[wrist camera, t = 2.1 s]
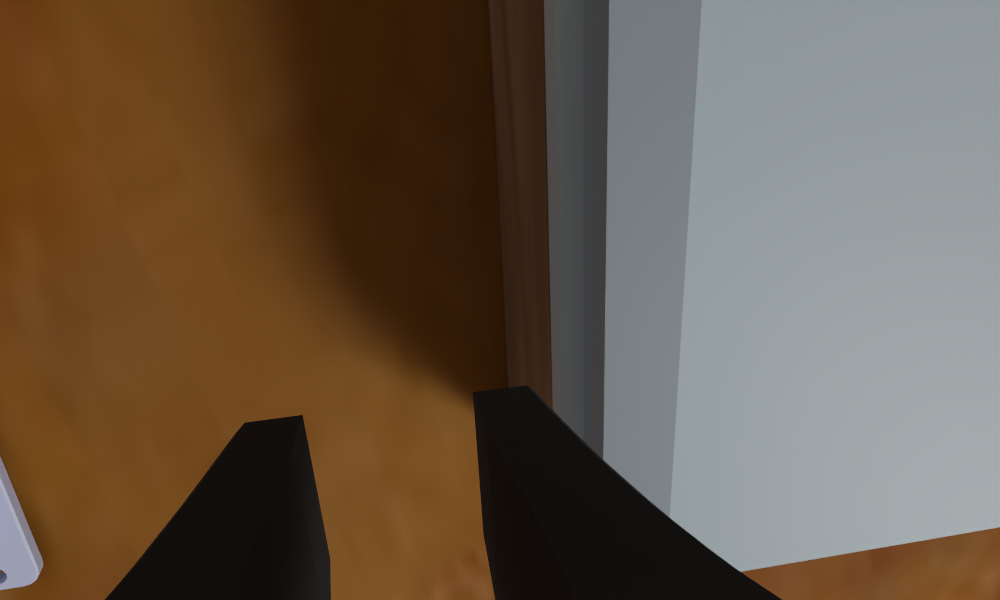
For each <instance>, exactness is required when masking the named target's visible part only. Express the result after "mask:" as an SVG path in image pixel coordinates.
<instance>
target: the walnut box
mask: <svg viewBox="0 0 1000 600" xmlns="http://www.w3.org/2000/svg"><path fill="white" fill-rule="evenodd" d="M489 19H490V39H491V59H492V78H493V98H494V117H495V137H496V157H497V176H498V196H499V215H500V235H501V254H502V274H503V294H504V313H505V333H506V352H507V372H508V388H510V387H517V386H525V385H527V386H529V387H530V388H531V389H532V390H534V391H535V392H536V393H537V394H538V395H539V396H540V397H541V398H542V399H543V400H544V401H545V402H546V403H547V404H548V405H549V407H550V408H551V409H552V410H553V401H552V355H551V309H550V263H549V217H548V171H547V125H546V79H545V33H544V0H489Z"/></svg>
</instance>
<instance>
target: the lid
mask: <svg viewBox="0 0 1000 600" xmlns="http://www.w3.org/2000/svg"><path fill="white" fill-rule="evenodd" d="M544 33H545V79H546V125H547V171H548V217H549V263H550V309H551V355H552V401H553V411H554V412H555V413H556V414H557V415H558V416H559V417H560V418H561V419H562V420H563V421H564V422H565V423H566V424H567V425H568V426H569V427H570V428H571V429H572V430H573V431H574V432H575V433H576V434H577V435H578V436H579V437H580V438H581V439H582V440H583V441H584V442H585V443H586V444H587V445H588V446H589V447H590V448H591V449H592V450H594V451H595V452H596V453H597V454H598V455H599V456H600V457H601V458H602V459H603V460H604V461H605V462H606V463H607V464H608V465H610V466H611V467H612V468H613V469H614V470H615V471H616V472H618V473H619V474H620V475H621V476H622V477H623V478H624V479H625V480H627V481H628V482H629V483H630V484H631V485H632V486H633V487H634V488H636V489H637V490H638V491H639V492H640V493H641V494H642V495H643V496H645V497H646V498H647V499H648V500H649V501H650V502H652V503H653V504H654V505H655V506H656V507H658V508H659V509H660V510H661V511H662V512H664V513H665V514H666V515H667V516H668V517H670V518H671V519H672V520H673V521H674V522H676V523H677V524H678V525H680V526H681V527H682V528H683V529H685V530H686V531H687V532H688V533H690V534H691V535H692V536H694V537H695V538H696V539H697V540H699V541H700V542H701V543H702V544H704V545H705V546H706V547H708V548H709V549H710V550H711V551H713V552H714V553H715V554H717V555H718V556H719V557H721V558H722V559H724V560H725V561H726V562H728V563H729V564H730V565H732V566H733V567H734V568H736V569H737V570H738V571H740V572H742V571H747V570H753V569H759V568H765V567H771V566H776V565H782V564H788V563H794V562H800V561H806V560H811V559H817V558H823V557H829V556H835V555H841V554H846V553H852V552H858V551H864V550H870V549H875V548H881V547H887V546H893V545H899V544H905V543H910V542H916V541H922V540H928V539H934V538H940V537H945V536H951V535H957V534H963V533H969V532H974V531H980V530H986V529H992V528H998V527H1000V0H544Z"/></svg>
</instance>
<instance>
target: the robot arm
mask: <svg viewBox="0 0 1000 600" xmlns="http://www.w3.org/2000/svg"><path fill="white" fill-rule="evenodd" d="M473 398H474V412H475V425H476V438H477V452H478V465H479V479H480V492H481V505H482V519H483V532H484V539H485V544H486V550H487V556H488V561H489V567H490V572H491V578H492V583H493V589H494V594H495V599H496V600H782V599H780V598H779V597H777V596H776V595H774V594H773V593H771V592H770V591H768V590H767V589H765V588H764V587H762V586H761V585H759V584H758V583H756V582H755V581H753V580H751V579H750V578H748V577H747V576H745V575H744V574H743V573H741V572H740V571H738V570H737V569H736V568H734V567H733V566H732V565H730V564H729V563H728V562H726V561H725V560H724V559H722V558H721V557H719V556H718V555H717V554H715V553H714V552H713V551H711V550H710V549H709V548H708V547H706V546H705V545H704V544H702V543H701V542H700V541H699V540H697V539H696V538H695V537H694V536H692V535H691V534H690V533H688V532H687V531H686V530H685V529H683V528H682V527H681V526H680V525H678V524H677V523H676V522H674V521H673V520H672V519H671V518H670V517H668V516H667V515H666V514H665V513H664V512H662V511H661V510H660V509H659V508H658V507H656V506H655V505H654V504H653V503H652V502H650V501H649V500H648V499H647V498H646V497H645V496H643V495H642V494H641V493H640V492H639V491H638V490H637V489H636V488H634V487H633V486H632V485H631V484H630V483H629V482H628V481H627V480H625V479H624V478H623V477H622V476H621V475H620V474H619V473H618V472H616V471H615V470H614V469H613V468H612V467H611V466H610V465H608V464H607V463H606V462H605V461H604V460H603V459H602V458H601V457H600V456H599V455H598V454H597V453H596V452H595V451H594V450H592V449H591V448H590V447H589V446H588V445H587V444H586V443H585V442H584V441H583V440H582V439H581V438H580V437H579V436H578V435H577V434H576V433H575V432H574V431H573V430H572V429H571V428H570V427H569V426H568V425H567V424H566V423H565V422H564V421H563V420H562V419H561V418H560V417H559V416H558V415H557V414H556V413H555V412H554V411H553V410H552V409H551V408H550V407H549V405H548V404H547V403H546V402H545V401H544V400H543V399H542V398H541V397H540V396H539V395H538V394H537V393H536V392H535V391H534V390H532V389H531V388H530V387H529V386H527V385H525V386H517V387H510V388H502V389H495V390H487V391H480V392H473ZM42 567H43V560H42V557H41V555H40V553H39V550H38V548H37V545H36V543H35V540H34V538H33V535H32V533H31V531H30V528H29V526H28V523H27V521H26V518H25V516H24V513H23V511H22V509H21V506H20V504H19V501H18V499H17V496H16V494H15V491H14V489H13V487H12V484H11V482H10V479H9V477H8V474H7V472H6V469H5V467H4V465H3V462H2V460H1V457H0V570H2V571H4V572H5V573H0V590H3V589H10V588H16V587H23V586H26V585H30V584H32V583H33V582H34V581H36V580H37V578H38V576H39V574H40V572H41V569H42ZM105 600H331V589H330V556H329V551H328V545H327V540H326V535H325V530H324V525H323V519H322V514H321V509H320V504H319V499H318V493H317V488H316V483H315V478H314V473H313V467H312V462H311V457H310V452H309V446H308V441H307V436H306V431H305V426H304V420H303V415H300V416H292V417H285V418H277V419H270V420H262V421H255V422H247V423H244V424H243V426H242V427H241V428H240V429H239V430H238V431H237V433H236V434H235V435H234V436H233V438H232V439H231V440H230V442H229V443H228V444H227V446H226V447H225V448H224V450H223V451H222V452H221V454H220V455H219V456H218V458H217V459H216V460H215V462H214V463H213V465H212V466H211V467H210V469H209V470H208V471H207V473H206V474H205V475H204V477H203V478H202V479H201V481H200V482H199V483H198V485H197V486H196V487H195V489H194V490H193V491H192V493H191V494H190V495H189V497H188V498H187V499H186V501H185V502H184V503H183V505H182V506H181V507H180V509H179V510H178V511H177V512H176V514H175V515H174V516H173V517H172V519H171V520H170V521H169V522H168V524H167V525H166V526H165V527H164V529H163V530H162V531H161V532H160V534H159V535H158V536H157V538H156V539H155V540H154V541H153V543H152V544H151V545H150V546H149V548H148V549H147V550H146V551H145V553H144V554H143V555H142V556H141V558H140V559H139V560H138V561H137V563H136V564H135V565H134V566H133V568H132V569H131V570H130V571H129V572H128V574H127V575H126V576H125V577H124V578H123V580H122V581H121V582H120V583H119V584H118V585H117V586H116V588H115V589H114V590H113V591H112V592H111V593H110V594H109V596H108V597H107V598H106V599H105Z"/></svg>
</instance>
